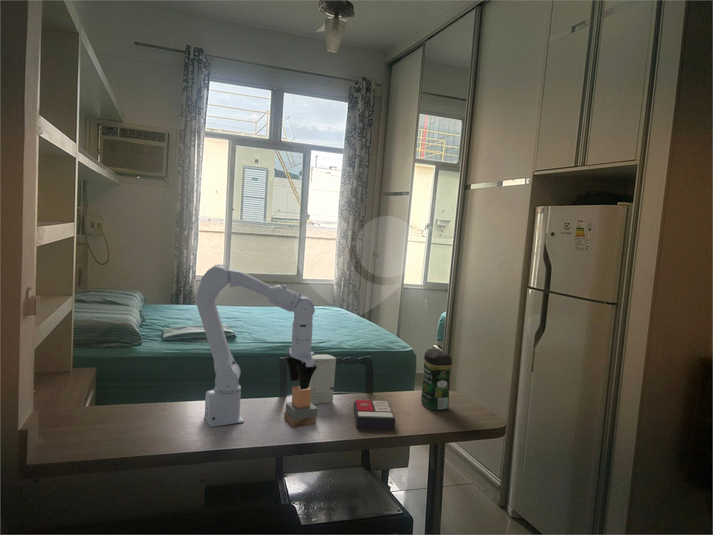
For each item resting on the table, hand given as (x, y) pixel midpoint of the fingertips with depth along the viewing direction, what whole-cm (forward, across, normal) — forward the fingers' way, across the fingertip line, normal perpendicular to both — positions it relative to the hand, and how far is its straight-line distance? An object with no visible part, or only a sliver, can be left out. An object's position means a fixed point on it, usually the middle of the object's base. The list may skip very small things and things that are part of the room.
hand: (299, 384), depth 138 cm
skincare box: (+11, +12, -12) cm, 20 cm away
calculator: (+11, -8, -21) cm, 25 cm away
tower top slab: (+8, -2, 0) cm, 8 cm away
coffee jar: (+10, -5, -46) cm, 48 cm away
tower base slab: (+11, -2, 0) cm, 11 cm away
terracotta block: (+6, -1, 0) cm, 6 cm away
